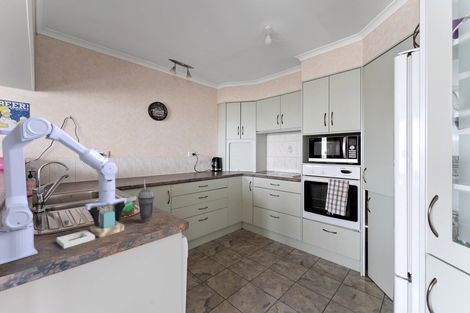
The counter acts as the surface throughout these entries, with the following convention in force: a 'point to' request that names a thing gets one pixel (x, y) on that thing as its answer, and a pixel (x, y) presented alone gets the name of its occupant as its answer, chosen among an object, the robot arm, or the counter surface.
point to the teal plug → (107, 219)
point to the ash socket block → (107, 230)
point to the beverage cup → (146, 204)
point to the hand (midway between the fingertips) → (107, 223)
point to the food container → (128, 206)
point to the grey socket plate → (65, 243)
